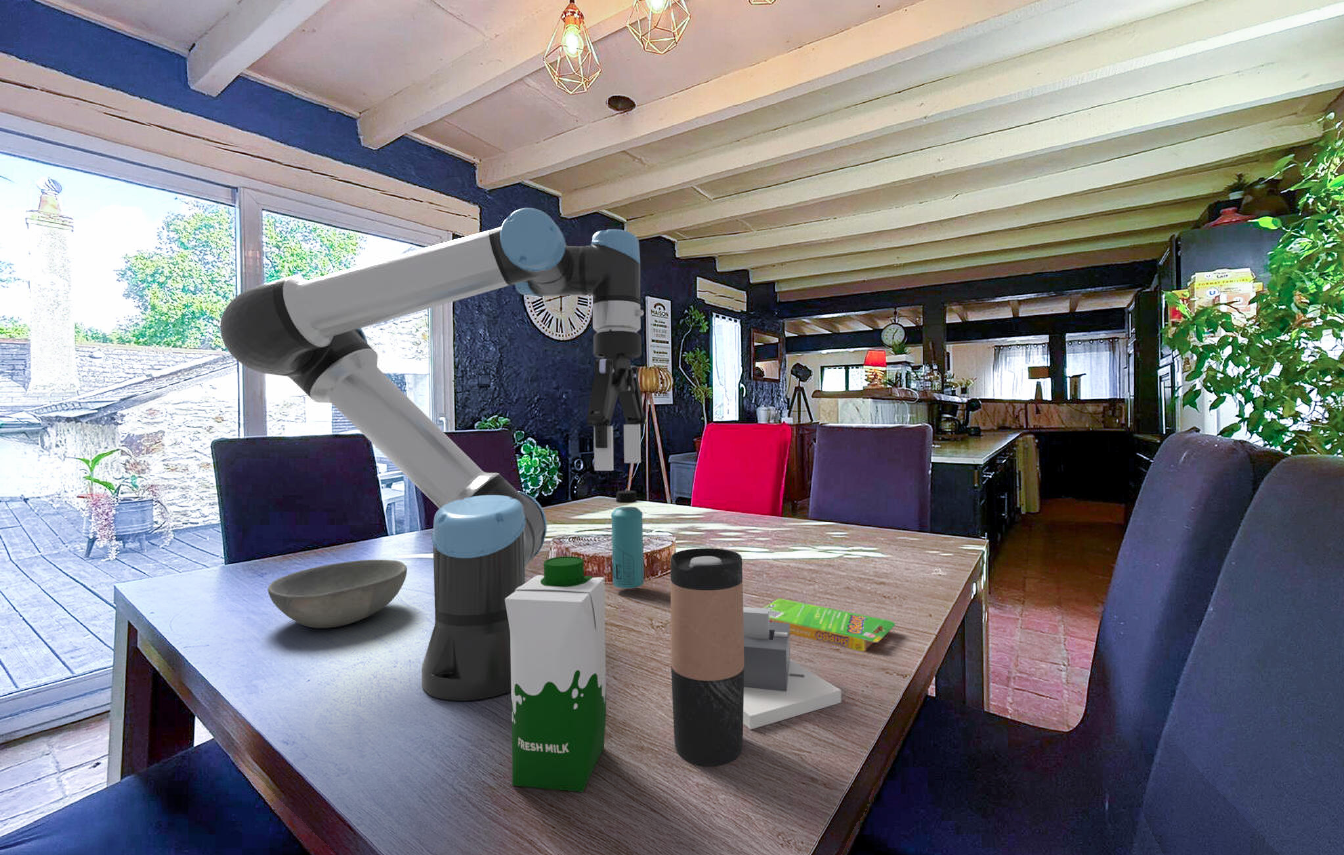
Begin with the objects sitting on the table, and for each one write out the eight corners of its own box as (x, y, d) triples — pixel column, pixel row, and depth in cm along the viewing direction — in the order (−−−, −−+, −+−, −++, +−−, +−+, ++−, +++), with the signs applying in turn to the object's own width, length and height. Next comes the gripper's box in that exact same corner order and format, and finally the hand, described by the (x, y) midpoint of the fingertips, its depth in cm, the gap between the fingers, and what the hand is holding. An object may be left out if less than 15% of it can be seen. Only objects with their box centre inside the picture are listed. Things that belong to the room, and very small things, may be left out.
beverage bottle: (651, 589, 115) (649, 489, 114) (631, 598, 109) (630, 493, 109) (625, 584, 118) (623, 487, 118) (604, 593, 113) (603, 491, 112)
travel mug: (739, 724, 64) (737, 546, 64) (750, 766, 56) (748, 564, 56) (670, 727, 64) (668, 548, 63) (673, 769, 56) (670, 566, 56)
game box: (779, 614, 102) (897, 634, 90) (752, 632, 95) (877, 656, 82) (778, 597, 102) (896, 615, 90) (751, 613, 95) (876, 635, 82)
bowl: (403, 631, 94) (402, 582, 94) (250, 652, 86) (249, 599, 86) (410, 594, 114) (409, 554, 113) (286, 608, 106) (285, 565, 106)
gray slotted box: (712, 683, 71) (711, 641, 71) (723, 654, 79) (723, 616, 79) (786, 691, 69) (786, 647, 68) (790, 660, 77) (789, 621, 77)
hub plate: (750, 729, 63) (749, 643, 63) (677, 666, 79) (676, 598, 79) (841, 702, 69) (840, 623, 69) (755, 648, 85) (755, 584, 85)
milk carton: (614, 744, 61) (611, 556, 60) (588, 801, 52) (585, 581, 51) (535, 738, 62) (532, 554, 62) (497, 792, 53) (493, 577, 53)
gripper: (612, 318, 78) (614, 474, 78) (660, 341, 102) (662, 460, 102) (561, 321, 80) (564, 473, 80) (620, 343, 104) (622, 460, 104)
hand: (619, 466), depth 91 cm, fingers open, 13 cm apart
